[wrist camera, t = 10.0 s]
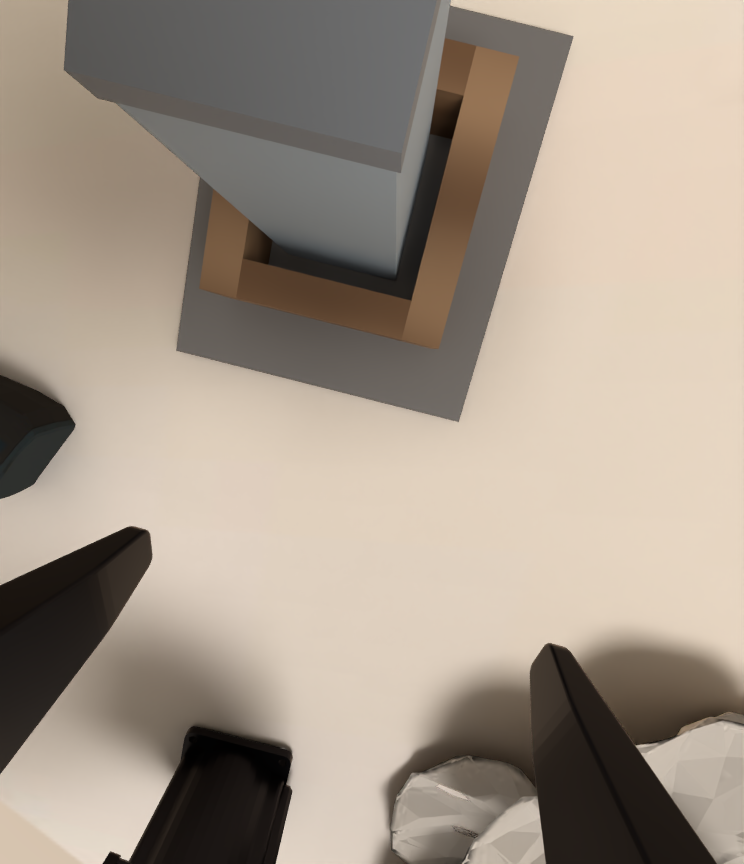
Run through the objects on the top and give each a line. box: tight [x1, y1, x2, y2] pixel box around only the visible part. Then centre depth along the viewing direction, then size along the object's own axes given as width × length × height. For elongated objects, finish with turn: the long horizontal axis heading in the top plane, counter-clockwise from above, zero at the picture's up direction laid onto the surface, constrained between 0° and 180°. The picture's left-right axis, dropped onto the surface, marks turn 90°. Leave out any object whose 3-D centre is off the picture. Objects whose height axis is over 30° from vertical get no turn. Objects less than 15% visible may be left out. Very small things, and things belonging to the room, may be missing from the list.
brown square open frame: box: [199, 38, 520, 349], centre depth 16 cm, size 10×10×3 cm
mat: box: [176, 6, 573, 422], centre depth 18 cm, size 16×14×1 cm
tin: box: [64, 0, 451, 281], centre depth 12 cm, size 5×5×12 cm
